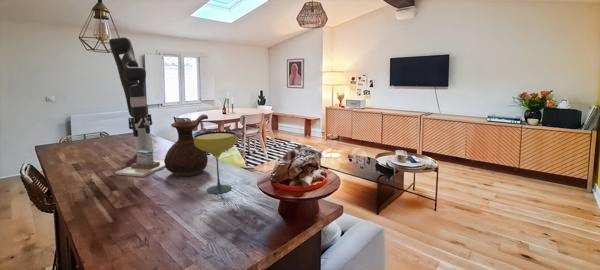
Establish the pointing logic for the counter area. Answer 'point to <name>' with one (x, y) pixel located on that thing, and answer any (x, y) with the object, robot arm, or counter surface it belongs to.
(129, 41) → the robot arm
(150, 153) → the medicine box
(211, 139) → the cocktail glass
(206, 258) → the counter surface
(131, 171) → the board
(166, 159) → the jug
